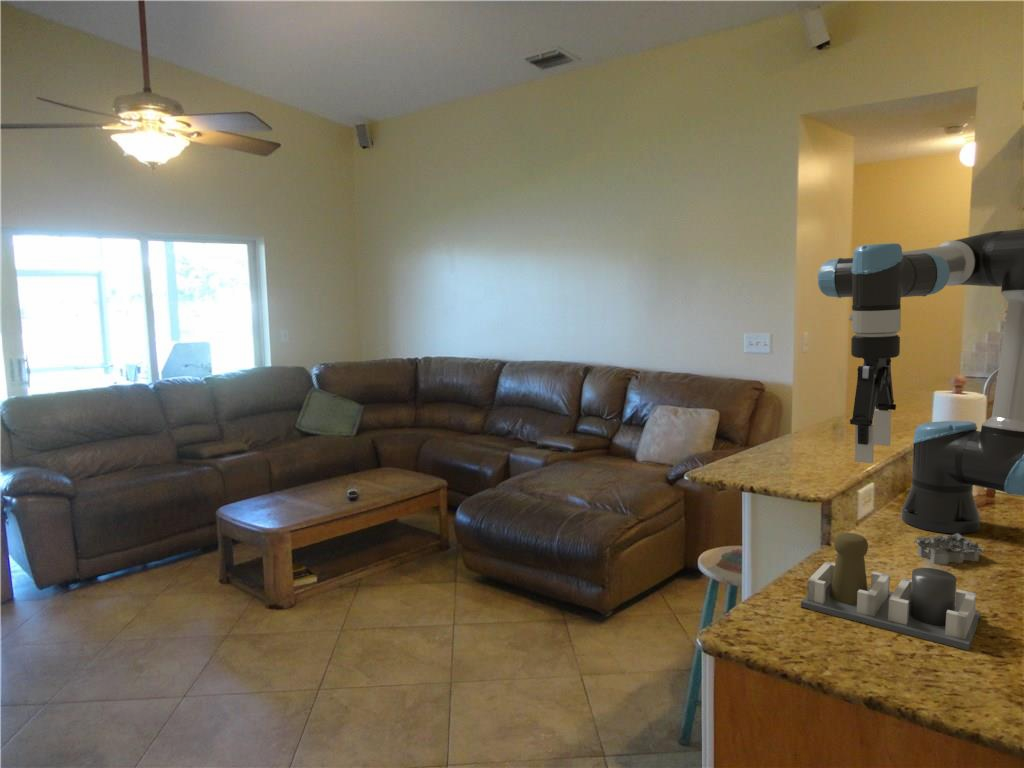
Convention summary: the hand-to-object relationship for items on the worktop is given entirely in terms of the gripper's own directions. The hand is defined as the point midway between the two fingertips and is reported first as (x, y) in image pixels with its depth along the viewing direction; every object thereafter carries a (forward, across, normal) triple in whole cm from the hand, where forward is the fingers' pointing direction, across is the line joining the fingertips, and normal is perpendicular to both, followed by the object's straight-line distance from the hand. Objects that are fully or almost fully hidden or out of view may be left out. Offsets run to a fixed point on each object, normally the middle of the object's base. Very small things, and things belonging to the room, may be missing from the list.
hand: (873, 453), depth 125 cm
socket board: (+24, +12, +5) cm, 27 cm away
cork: (+23, +12, -1) cm, 26 cm away
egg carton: (+25, -21, +9) cm, 34 cm away
